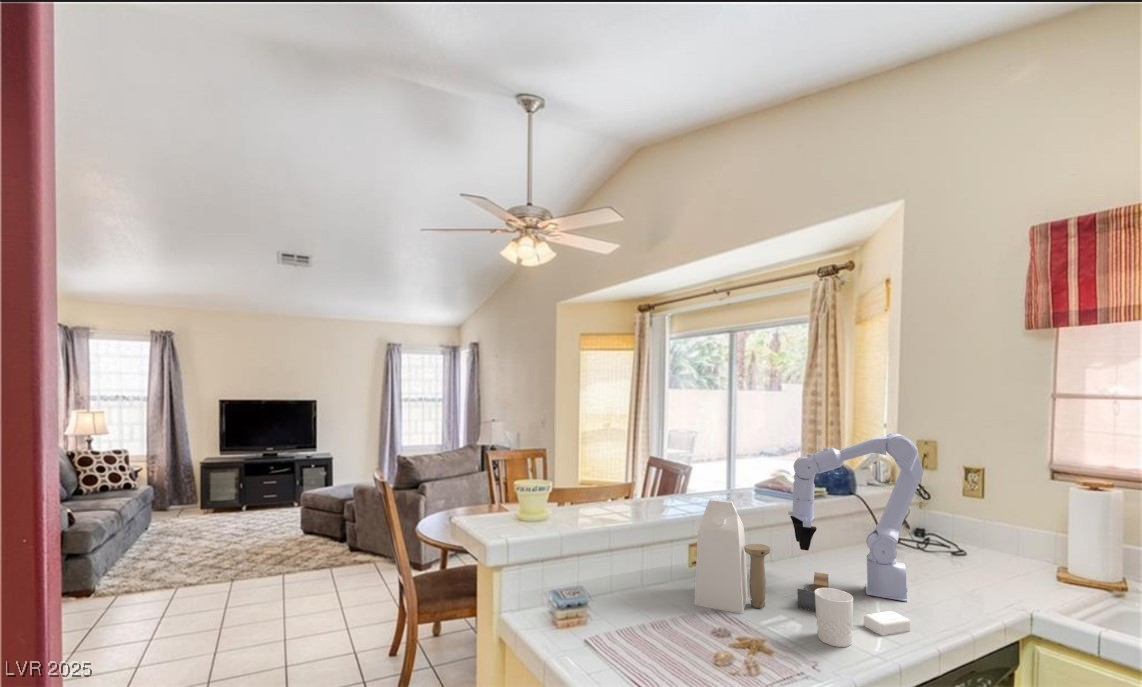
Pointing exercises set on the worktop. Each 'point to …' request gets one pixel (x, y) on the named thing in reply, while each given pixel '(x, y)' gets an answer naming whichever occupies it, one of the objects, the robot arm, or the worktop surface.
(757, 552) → the handle
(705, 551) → the milk
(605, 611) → the worktop surface
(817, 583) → the tan rectangular block
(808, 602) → the bracket
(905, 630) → the soap
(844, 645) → the white cup
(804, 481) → the robot arm
